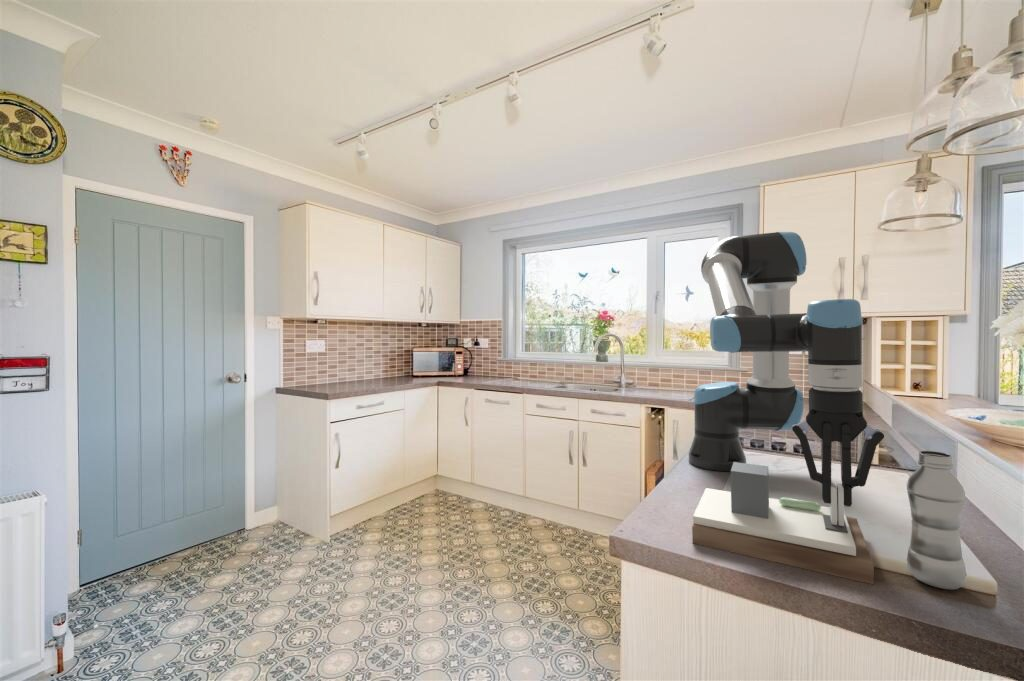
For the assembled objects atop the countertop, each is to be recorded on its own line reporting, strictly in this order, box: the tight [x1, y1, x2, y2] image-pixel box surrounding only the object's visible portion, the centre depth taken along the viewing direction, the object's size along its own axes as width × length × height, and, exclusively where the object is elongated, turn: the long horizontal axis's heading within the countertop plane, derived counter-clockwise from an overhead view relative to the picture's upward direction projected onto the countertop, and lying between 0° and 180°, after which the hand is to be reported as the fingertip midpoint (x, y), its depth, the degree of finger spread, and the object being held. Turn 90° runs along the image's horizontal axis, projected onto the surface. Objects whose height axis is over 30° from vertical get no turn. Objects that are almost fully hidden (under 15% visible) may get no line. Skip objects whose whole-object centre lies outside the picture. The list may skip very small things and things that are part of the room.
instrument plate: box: [692, 462, 856, 556], centre depth 80 cm, size 16×24×9 cm, turn 58°
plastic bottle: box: [906, 450, 967, 591], centre depth 65 cm, size 6×7×20 cm
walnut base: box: [691, 516, 875, 585], centre depth 80 cm, size 18×26×3 cm
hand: (837, 522), depth 75 cm, fingers closed
